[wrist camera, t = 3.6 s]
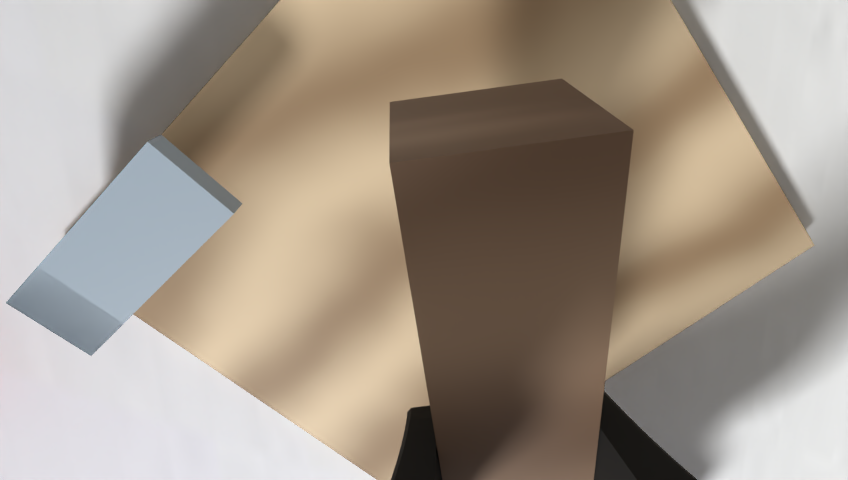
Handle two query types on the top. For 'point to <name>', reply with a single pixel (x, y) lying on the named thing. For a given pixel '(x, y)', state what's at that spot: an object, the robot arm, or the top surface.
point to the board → (376, 206)
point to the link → (512, 270)
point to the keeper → (125, 246)
